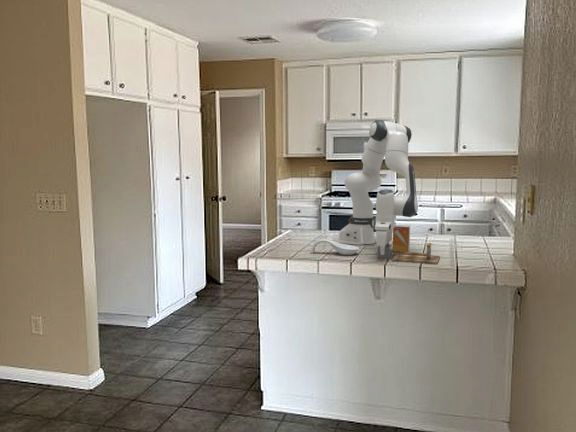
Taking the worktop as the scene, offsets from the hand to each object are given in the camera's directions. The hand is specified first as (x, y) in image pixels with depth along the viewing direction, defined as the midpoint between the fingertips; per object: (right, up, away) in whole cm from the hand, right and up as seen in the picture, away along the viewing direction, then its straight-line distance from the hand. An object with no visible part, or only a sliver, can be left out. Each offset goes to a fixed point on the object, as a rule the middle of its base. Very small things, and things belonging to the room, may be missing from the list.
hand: (384, 252), depth 249 cm
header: (+14, -3, -5) cm, 15 cm away
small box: (+11, 0, +16) cm, 20 cm away
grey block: (0, -2, 0) cm, 2 cm away
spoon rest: (-23, -2, +10) cm, 25 cm away
